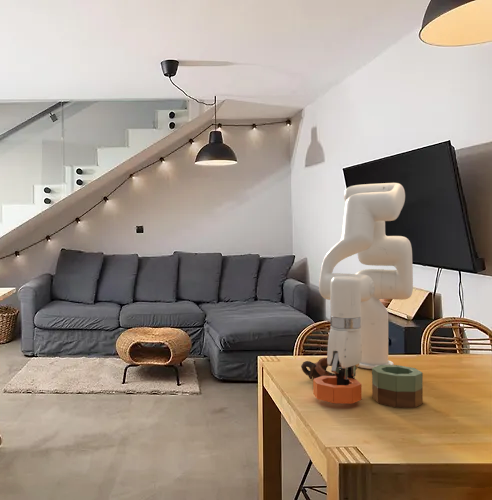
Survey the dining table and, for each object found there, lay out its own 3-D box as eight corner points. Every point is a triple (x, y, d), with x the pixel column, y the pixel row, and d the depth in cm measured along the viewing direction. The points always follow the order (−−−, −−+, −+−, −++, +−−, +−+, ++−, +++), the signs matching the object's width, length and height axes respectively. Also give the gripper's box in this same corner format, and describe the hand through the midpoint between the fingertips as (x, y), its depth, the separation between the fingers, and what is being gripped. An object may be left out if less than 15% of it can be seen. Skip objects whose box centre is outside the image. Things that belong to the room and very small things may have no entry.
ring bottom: (366, 400, 139) (366, 385, 139) (385, 391, 146) (385, 377, 146) (409, 410, 131) (409, 394, 131) (428, 401, 138) (428, 385, 138)
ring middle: (366, 385, 139) (365, 370, 139) (385, 377, 146) (385, 362, 146) (409, 394, 131) (409, 378, 131) (428, 385, 138) (428, 370, 138)
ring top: (306, 396, 139) (306, 381, 139) (329, 388, 146) (329, 373, 146) (345, 406, 131) (345, 390, 130) (367, 397, 138) (367, 381, 138)
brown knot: (340, 380, 160) (347, 360, 155) (337, 402, 152) (345, 381, 148) (299, 367, 163) (306, 347, 159) (295, 388, 156) (301, 368, 151)
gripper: (347, 318, 149) (348, 383, 149) (316, 325, 138) (316, 395, 139) (374, 321, 143) (374, 389, 143) (343, 328, 133) (343, 402, 133)
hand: (345, 391), depth 141 cm, fingers closed on ring top, 2 cm apart
